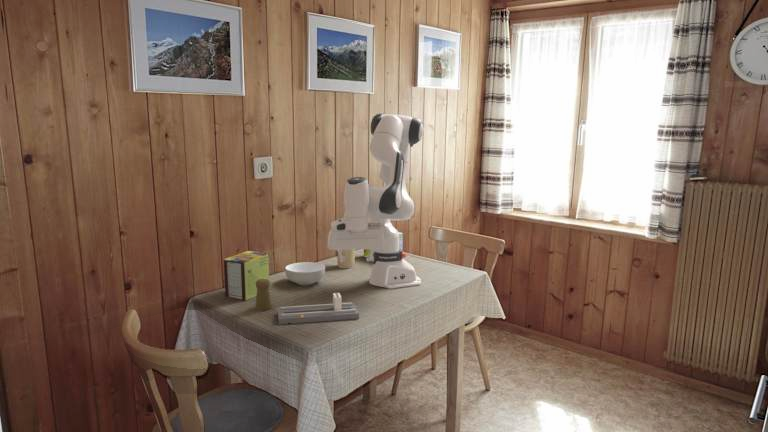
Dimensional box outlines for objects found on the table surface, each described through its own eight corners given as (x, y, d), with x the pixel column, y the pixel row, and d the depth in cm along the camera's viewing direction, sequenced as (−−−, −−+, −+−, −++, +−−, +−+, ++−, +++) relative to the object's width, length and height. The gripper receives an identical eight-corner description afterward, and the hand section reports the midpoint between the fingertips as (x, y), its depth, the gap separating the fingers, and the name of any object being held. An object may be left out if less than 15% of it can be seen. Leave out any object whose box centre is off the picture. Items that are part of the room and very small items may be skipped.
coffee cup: (338, 263, 262) (338, 239, 260) (357, 264, 261) (357, 240, 259) (334, 268, 253) (334, 243, 251) (353, 269, 252) (353, 244, 250)
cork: (256, 305, 204) (255, 277, 202) (272, 304, 205) (271, 277, 203) (254, 310, 198) (253, 282, 196) (270, 310, 199) (269, 281, 197)
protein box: (269, 289, 222) (269, 253, 219) (245, 301, 208) (244, 262, 205) (249, 286, 226) (248, 250, 224) (224, 297, 213) (222, 259, 210)
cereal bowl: (332, 280, 236) (332, 264, 235) (311, 291, 221) (311, 274, 220) (299, 274, 243) (299, 259, 242) (277, 285, 228) (277, 268, 227)
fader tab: (339, 305, 198) (339, 292, 197) (341, 310, 193) (341, 296, 192) (332, 306, 198) (332, 292, 197) (334, 311, 193) (334, 297, 192)
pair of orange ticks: (300, 306, 198) (300, 305, 198) (303, 317, 187) (303, 316, 187) (298, 306, 198) (298, 305, 198) (301, 317, 187) (301, 316, 187)
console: (353, 307, 203) (353, 300, 202) (358, 318, 192) (359, 311, 192) (277, 313, 196) (277, 305, 196) (278, 324, 186) (278, 316, 185)
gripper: (382, 221, 197) (382, 258, 199) (326, 222, 192) (326, 260, 195) (386, 224, 191) (386, 262, 193) (329, 225, 186) (329, 264, 189)
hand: (355, 261), depth 194 cm, fingers open, 8 cm apart
